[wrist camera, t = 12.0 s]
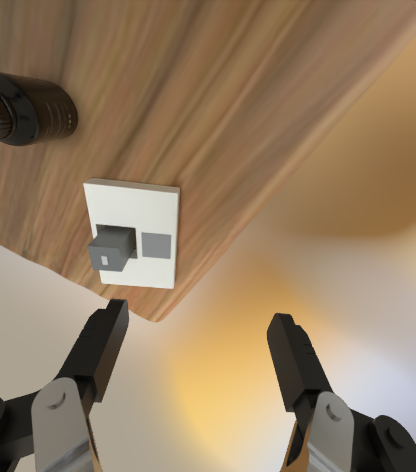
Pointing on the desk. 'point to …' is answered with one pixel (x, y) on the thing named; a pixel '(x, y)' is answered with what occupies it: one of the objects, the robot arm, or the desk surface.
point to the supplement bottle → (33, 111)
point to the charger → (112, 248)
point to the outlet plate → (138, 228)
